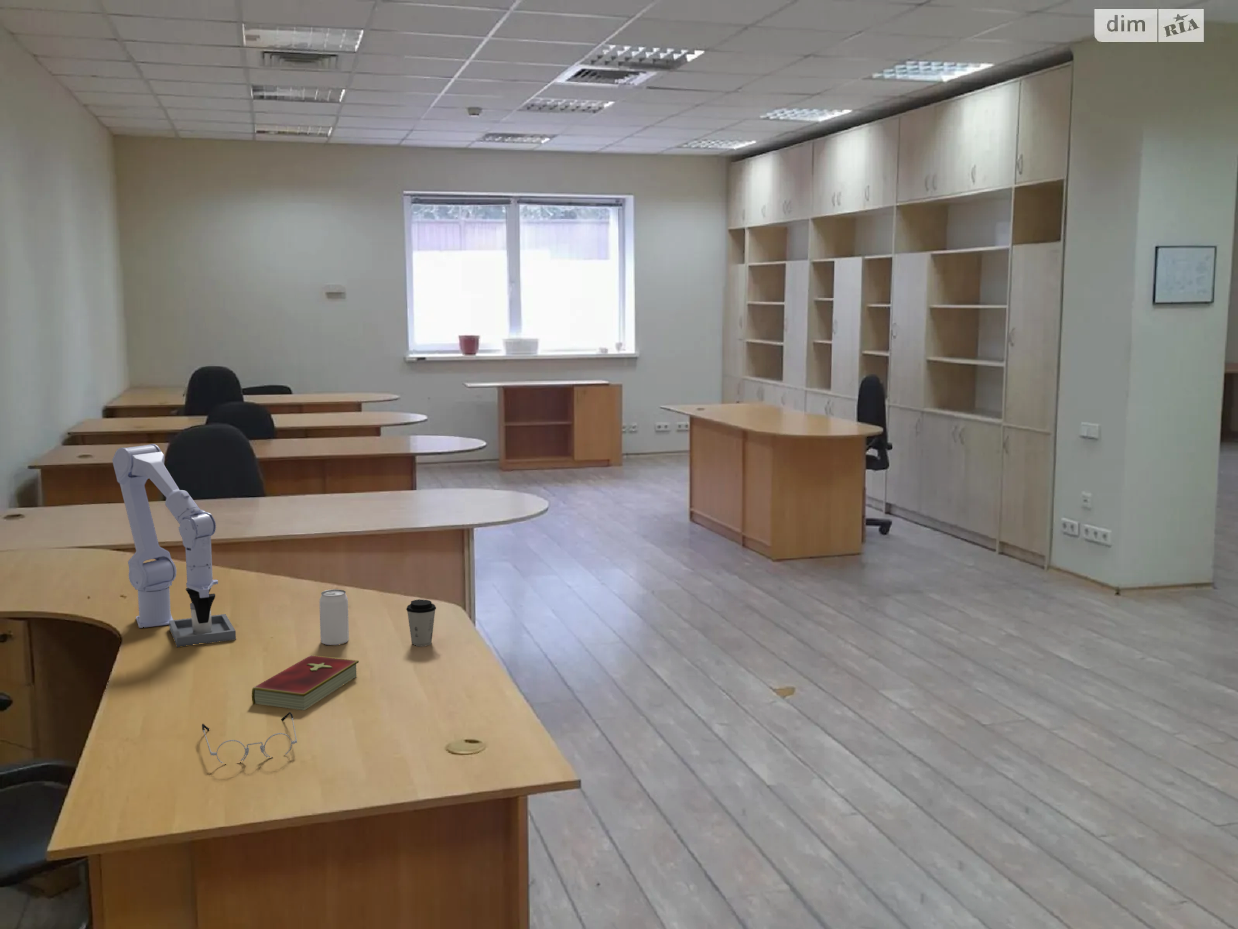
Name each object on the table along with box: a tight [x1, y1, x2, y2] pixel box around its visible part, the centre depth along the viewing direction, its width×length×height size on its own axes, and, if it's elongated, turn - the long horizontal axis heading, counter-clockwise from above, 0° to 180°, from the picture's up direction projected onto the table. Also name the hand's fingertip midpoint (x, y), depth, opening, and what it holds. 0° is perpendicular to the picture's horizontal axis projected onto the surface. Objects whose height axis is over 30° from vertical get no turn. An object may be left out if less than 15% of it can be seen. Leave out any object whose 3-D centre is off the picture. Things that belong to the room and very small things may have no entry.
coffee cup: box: [405, 599, 437, 647], centre depth 254 cm, size 7×7×10 cm
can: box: [319, 588, 350, 646], centre depth 254 cm, size 6×6×12 cm
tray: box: [168, 613, 237, 648], centre depth 259 cm, size 15×13×2 cm
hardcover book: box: [251, 654, 360, 711], centre depth 224 cm, size 12×21×4 cm, turn 164°
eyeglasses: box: [201, 711, 298, 764], centre depth 197 cm, size 16×19×5 cm
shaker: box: [189, 602, 212, 634], centre depth 258 cm, size 5×5×7 cm
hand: (201, 619), depth 258 cm, fingers open, 5 cm apart
